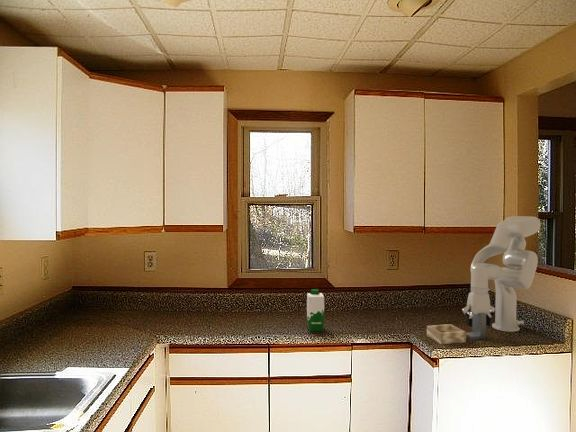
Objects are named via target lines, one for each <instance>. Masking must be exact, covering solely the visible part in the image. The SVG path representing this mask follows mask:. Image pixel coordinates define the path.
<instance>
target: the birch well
mask: <svg viewBox="0 0 576 432" xmlns="http://www.w3.org/2000/svg"><path fill="white" fill-rule="evenodd" d="M466 333H467V331H466V330H464V329H461V328H459V327H457V326H456V325H454V324H451V323H449V324H436V325H433V324H431V325H426V337H428V338H429V337H430V339H431V338H432V339H431V340H433V339H434V340H435V341H434V340H433V341H434V342H436V341H437V342H436V343H438V344H440V345H449V344H450V345H451V344H462V343H466V342H467V338H466Z"/></svg>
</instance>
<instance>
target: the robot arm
mask: <svg viewBox="0 0 576 432" xmlns="http://www.w3.org/2000/svg"><path fill="white" fill-rule="evenodd" d="M541 225H542V223H541V221H540V219H539V218H538V217H536V216H532V215H531V216H530V215H529V216H528V215H527V216H524V215H523V216H522V215H518V216H517V215H513V216H512V215H511V216H507V217H505V219H503V220H501V221H499V222H498V223H497V224H496V227H495V229H494V232H493V235H492V238H491V239H490V242H489V244H488V245H486V246H484V247H483V248H482V249H480V250H479V251H478V252H477V253H476V254H475V256H474V258H473V259H472V262H471V264H470V267H469V268H470V269H469V270H470V292H469V293H468V295H467V301H466V306H465V307H463V308H462V309H461V311H462V313H463V315H464V316H465V317H466V325H467V327H469V328H470V327H471V328H472V316H473V315H479V314H486V327H487V326H488V327H490V326H491V327H492V329H495V330H497V331H502V332H510V333H515V332H519V331H520V329H521V328H520V325H525V322H524V320H518V319H517V292H516V290H515V289H521V290H527V289H529V288H530V287H532V286H531V285H532V283H533V281H534V277H535V275H536V274H535V273H536V271H537V268H538V264H539V263H538V262H539V259H538V255H537V254H536V252H534V251H531V250H526V247H527V241H526V239H525V238H527V237H531V236H532V235H535V234H536V233H538V232H539V230H540V229H541ZM501 254H503V256H502V263H503V265H505V266H506V267H501V266H499V265H498V264H494V263H485V261H486V260H488V259H489V258H491V257H494V256H495V257H496V256H498V255H501ZM489 280H490V281H491V280H493V281H494V287H495V306H492V305H491V298H490V294H489V292H490V287H489ZM514 288H515V289H514ZM494 313H495V314H494ZM493 315H495V316H494V317H495V318H494V322H493V323H491V318H492V317H493Z"/></svg>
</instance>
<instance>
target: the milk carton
mask: <svg viewBox="0 0 576 432" xmlns="http://www.w3.org/2000/svg"><path fill="white" fill-rule="evenodd" d="M319 291H320V290H319V288H312V289H310V292H308V293H307V294H306V295H307V297H306V320H307V321H306V322H307V328H308V330H309V332H324V329H325V328H324V324H325V296H324V294H323V293H322V292H319Z"/></svg>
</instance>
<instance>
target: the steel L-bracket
mask: <svg viewBox="0 0 576 432" xmlns="http://www.w3.org/2000/svg"><path fill="white" fill-rule="evenodd" d="M471 331H472V332H469V331H468V332H466V339H469V340H470V341H474V340H486V339H487V325H486V314H479V315H473V316H472V327H471Z"/></svg>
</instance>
